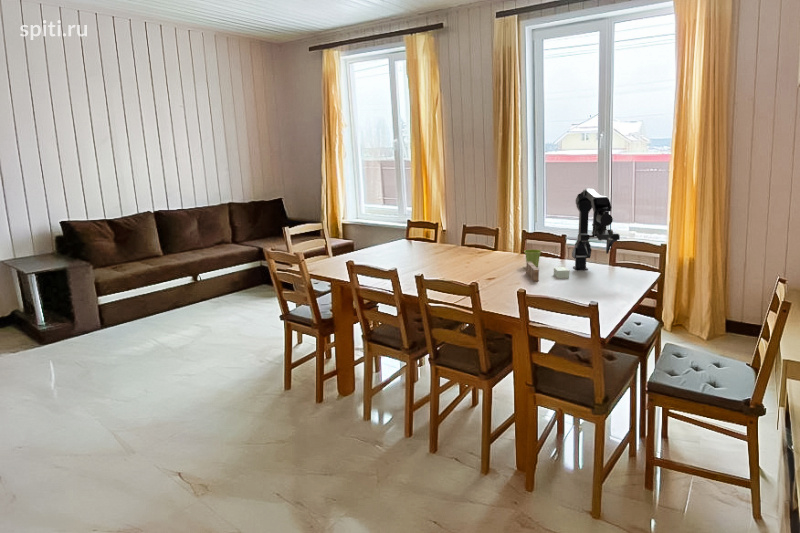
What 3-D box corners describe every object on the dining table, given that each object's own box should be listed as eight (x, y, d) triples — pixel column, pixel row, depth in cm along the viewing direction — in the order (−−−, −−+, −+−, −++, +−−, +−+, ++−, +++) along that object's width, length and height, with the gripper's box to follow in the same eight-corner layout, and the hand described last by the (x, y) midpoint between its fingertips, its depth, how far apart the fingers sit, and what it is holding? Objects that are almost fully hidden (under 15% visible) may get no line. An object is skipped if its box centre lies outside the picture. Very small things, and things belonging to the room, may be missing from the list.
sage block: (553, 275, 299) (553, 267, 298) (565, 274, 299) (565, 267, 298) (557, 278, 292) (557, 270, 291) (569, 278, 292) (569, 270, 291)
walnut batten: (526, 272, 305) (526, 261, 303) (530, 272, 305) (531, 261, 303) (533, 281, 287) (533, 269, 286) (538, 281, 287) (538, 269, 286)
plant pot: (520, 266, 319) (520, 251, 317) (531, 263, 325) (531, 248, 322) (533, 269, 312) (533, 253, 310) (544, 266, 317) (545, 250, 315)
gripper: (584, 225, 268) (583, 258, 272) (624, 224, 268) (622, 257, 271) (577, 221, 279) (576, 253, 282) (616, 220, 278) (614, 251, 282)
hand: (597, 253), depth 279 cm, fingers open, 9 cm apart
